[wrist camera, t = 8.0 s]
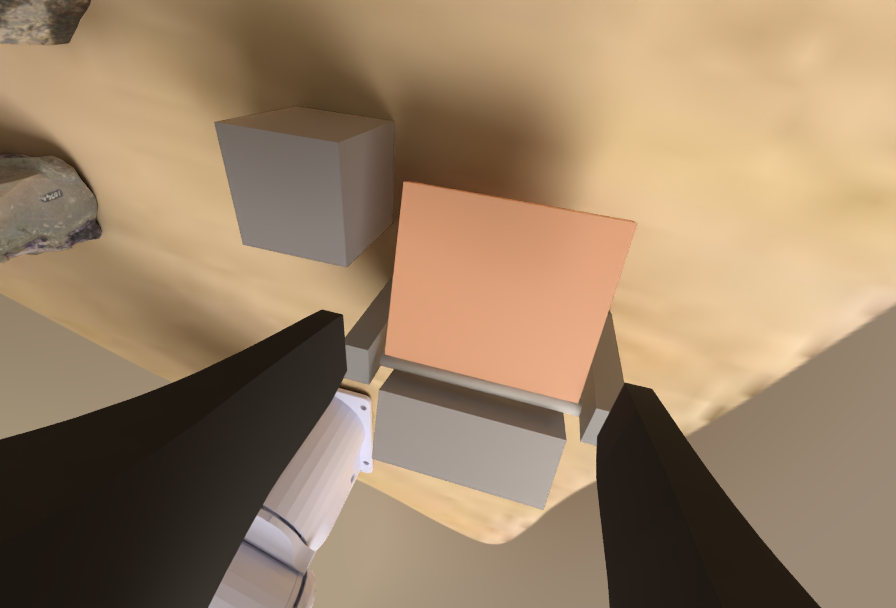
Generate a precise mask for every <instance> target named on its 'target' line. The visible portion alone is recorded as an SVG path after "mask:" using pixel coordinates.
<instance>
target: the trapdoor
mask: <svg viewBox="0 0 896 608" xmlns="http://www.w3.org/2000/svg"><path fill="white" fill-rule="evenodd" d="M636 226H637V223H636V222H634V221H631V220H625V219H620V218H614V217H609V216H603V215H597V214H592V213H586V212H580V211H575V210H569V209H563V208H558V207H552V206H547V205H541V204H535V203H530V202H524V201H518V200H513V199H507V198H502V197H496V196H490V195H485V194H479V193H473V192H468V191H462V190H457V189H451V188H445V187H440V186H434V185H428V184H423V183H417V182H411V181H404V182H403V191H402V200H401V210H400V219H399V228H398V237H397V246H396V255H395V264H394V273H393V282H392V292H391V301H390V310H389V319H388V328H387V337H386V346H385V350H383V352H382V354H381V357H380V365H381V366H385V367H389V368H393V369H394V370H393V372H392V373H391V374H390V376H389V377H388V378H387V380H386V381H385V382H384V384H383V385H382V387H381V388H380V389H379V395H378V405H377V414H376V423H375V432H374V442H373V451H372V459H375V460H378V461H382V462H385V463H388V464H392V465H395V466H398V467H402V468H405V469H408V470H412V471H415V472H418V473H422V474H425V475H428V476H432V477H435V478H438V479H442V480H445V481H448V482H452V483H455V484H458V485H462V486H465V487H468V488H472V489H475V490H478V491H482V492H485V493H488V494H492V495H495V496H498V497H502V498H505V499H508V500H512V501H515V502H518V503H522V504H525V505H528V506H532V507H535V508H538V509H542V510H544V507H545V504H546V501H547V498H548V495H549V492H550V489H551V485H552V482H553V479H554V476H555V473H556V470H557V467H558V464H559V461H560V458H561V455H562V452H563V449H564V446H565V443H566V433H565V424H564V416H563V413H566V414H570V415H574V416H579V415H580V413H581V409H582V399H580V397H581V394H582V391H583V388H584V384H585V381H586V378H587V375H588V372H589V369H590V366H591V363H592V360H593V357H594V354H595V351H596V348H597V345H598V342H599V339H600V336H601V333H602V330H603V327H604V324H605V321H606V318H607V315H608V311H609V308H610V305H611V302H612V299H613V296H614V293H615V290H616V287H617V284H618V281H619V278H620V275H621V272H622V269H623V266H624V263H625V260H626V257H627V254H628V251H629V248H630V245H631V242H632V239H633V235H634V232H635V229H636Z"/></svg>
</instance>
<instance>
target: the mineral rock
mask: <svg viewBox="0 0 896 608" xmlns="http://www.w3.org/2000/svg"><path fill="white" fill-rule="evenodd" d="M96 215H97V202H96V198H95V196H94V195H93V193H92V192H91V191H90V190H89V188H88V187H87V186H86V185H85V184H84V182H83V181H82V180H81V178H80V177H79V175H78V174H77V172H76V171H75V169H74V167H72V166H70V165H68V164H67V163H66V162H64V161H63V160H61V159H60V158H57V157H54V156H49V155H47V156H40V157H36V156H35V157H31V156H27V155H24V154H21V153H18V154H10V153H8V154H2V155H1V154H0V263H3V262H5V261H8V260H9V258H11V257H16V256H19V255H23V254H28V255H37V254H40V253H43V252H46V251H52V252H53V251H59V250H65V249H68V248H72V247H71V246H72V245H74V244H75V243H82V242H85V241H88V240H92V239H99V238H100V236H101V229H100V227H99V226H98V224H97V222H96V221H95V219H96Z"/></svg>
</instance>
